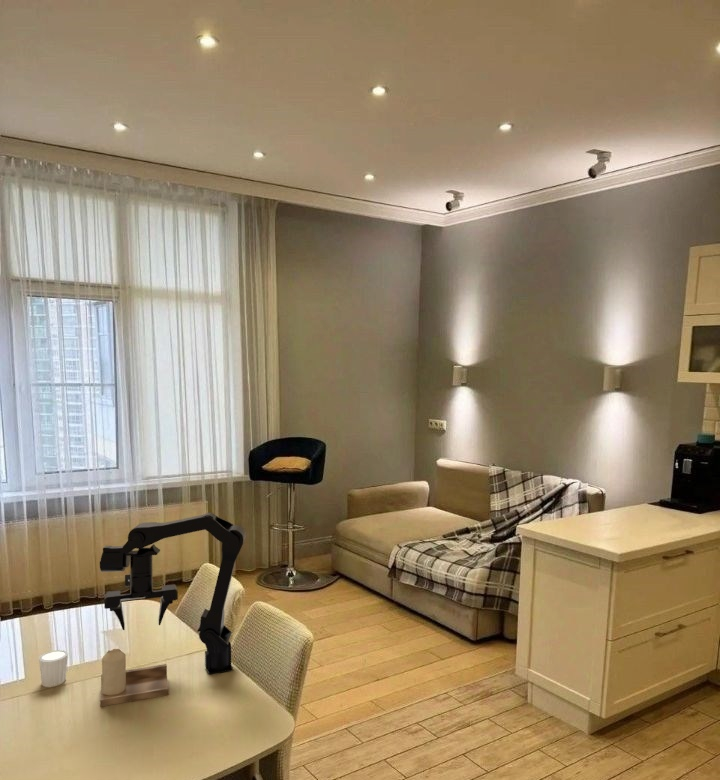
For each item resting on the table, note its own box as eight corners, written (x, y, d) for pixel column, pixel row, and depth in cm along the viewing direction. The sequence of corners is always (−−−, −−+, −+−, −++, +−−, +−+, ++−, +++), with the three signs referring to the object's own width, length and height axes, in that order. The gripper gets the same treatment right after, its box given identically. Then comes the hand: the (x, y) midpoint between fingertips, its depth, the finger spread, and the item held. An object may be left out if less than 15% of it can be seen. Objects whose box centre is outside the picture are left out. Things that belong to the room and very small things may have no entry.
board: (166, 678, 162) (166, 663, 162) (168, 694, 154) (168, 679, 154) (101, 689, 157) (101, 674, 157) (100, 706, 148) (100, 690, 148)
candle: (117, 697, 150) (117, 656, 150) (97, 694, 151) (97, 654, 151) (130, 686, 155) (129, 647, 155) (110, 684, 156) (110, 645, 156)
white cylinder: (39, 690, 156) (38, 663, 156) (39, 679, 162) (38, 652, 162) (68, 684, 159) (68, 657, 159) (67, 673, 165) (67, 647, 165)
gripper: (174, 559, 177) (175, 612, 178) (105, 565, 171) (105, 621, 171) (177, 570, 167) (178, 626, 167) (104, 577, 160) (104, 636, 160)
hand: (141, 627), depth 167 cm, fingers open, 9 cm apart
